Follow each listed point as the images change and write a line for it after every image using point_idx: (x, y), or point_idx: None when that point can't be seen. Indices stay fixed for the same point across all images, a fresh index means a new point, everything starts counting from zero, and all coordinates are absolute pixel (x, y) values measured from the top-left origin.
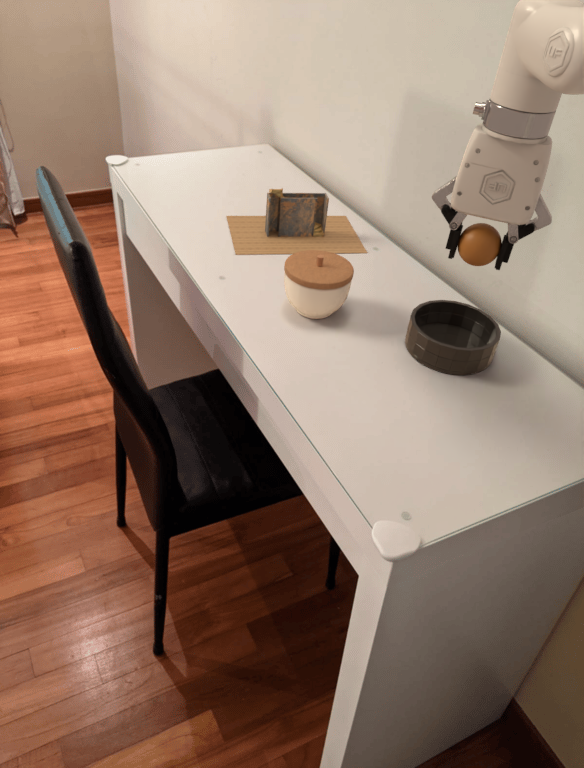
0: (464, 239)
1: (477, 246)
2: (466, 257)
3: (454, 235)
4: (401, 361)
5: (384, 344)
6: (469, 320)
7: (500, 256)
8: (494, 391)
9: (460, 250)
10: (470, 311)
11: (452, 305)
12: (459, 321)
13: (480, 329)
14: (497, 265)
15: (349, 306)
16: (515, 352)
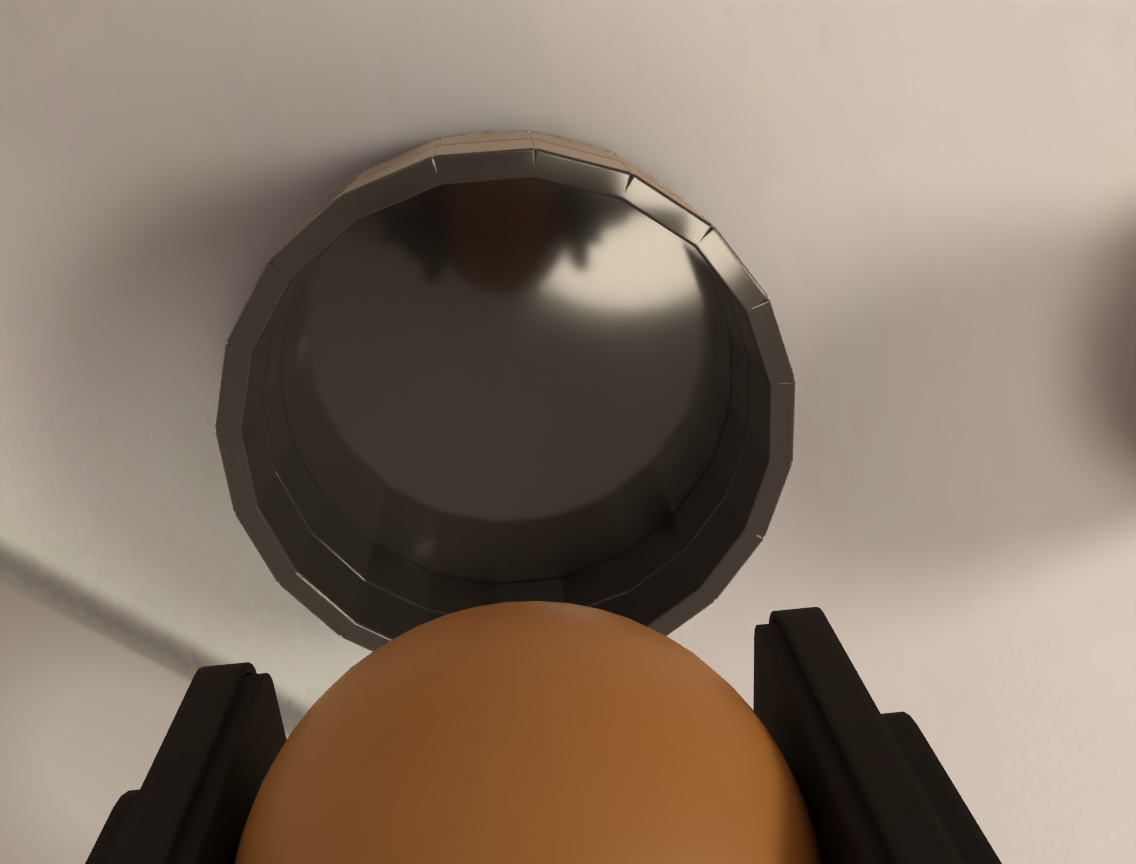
0: (765, 817)
1: (531, 739)
2: (621, 620)
3: (941, 824)
4: (721, 115)
5: (844, 228)
6: (459, 609)
7: (191, 783)
8: (161, 115)
9: (733, 688)
10: None
11: None
12: (510, 599)
13: (384, 575)
14: (228, 690)
15: (1087, 472)
16: (177, 535)
